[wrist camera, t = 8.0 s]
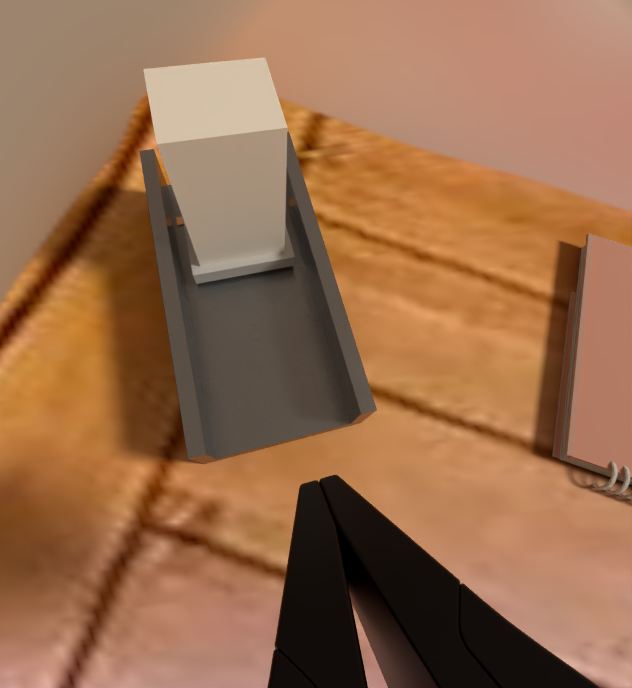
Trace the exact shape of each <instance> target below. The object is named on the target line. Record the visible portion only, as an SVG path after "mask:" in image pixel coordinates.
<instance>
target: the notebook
mask: <svg viewBox="0 0 632 688" xmlns="http://www.w3.org/2000/svg"><path fill="white" fill-rule="evenodd" d="M552 456H553V457H555V458H558V459H560V460H563V461H566V462H569V463H571V464H574V465H577V466H580V467H583V468H586V469H589V470H591V471H594V472H597V473H600V474H603V475H606V476H609V477H611V479H610V481H609V482H608V484H606V485H604V486H602V487H598V486H597V485H596V484H592V486H593V487H594V488H596V489H601V490H605V491H606V492H607V493H611V494H617V495H618V496H620V497H621V498H626V499H630V500H631V501H632V494H631V495H626V496H623V495H622V494H621V493H622V492H624V491H625V490H626V489H627V487H628V485H629V484H631V485H632V248H631V247H628V246H625V245H622V244H619V243H616V242H613V241H610V240H607V239H604V238H601V237H598V236H595V235H592V234H587V236H586V246H584V247H583V248H581V257H580V267H579V276H578V286H577V293H576V292H573V291H571V293H570V302H569V311H568V320H567V328H566V337H565V346H564V355H563V364H562V373H561V382H560V391H559V400H558V409H557V418H556V427H555V436H554V445H553V454H552ZM616 479H617V480H620V481H623V482H624V483H623V485H622V487H621V488H620V489H618V490H616V491H610V490H608V489H609V488H611V487H612V485H613V484H614V483H615V481H616Z"/></svg>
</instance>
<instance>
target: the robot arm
mask: <svg viewBox="0 0 632 688" xmlns="http://www.w3.org/2000/svg"><path fill="white" fill-rule="evenodd" d="M351 600H352V603H353V605H354V607H355V610H356V612H357V614H358V617H359V619H360V622H361V624H362V626H363V629H364V631H365V634H366V636H367V638H368V641H369V643H370V645H371V648H372V650H373V653H374V655H375V657H376V660H377V662H378V664H379V667H380V669H381V672H382V674H383V676H384V679H385V681H386V684H387V686H388V688H600V687H599V686H597V685H596V684H595V683H593V682H592V681H590V680H589V679H588V678H586V677H585V676H583V675H582V674H581V673H579V672H578V671H576V670H575V669H574V668H572V667H571V666H569V665H568V664H566V663H565V662H564V661H562V660H561V659H559V658H558V657H557V656H555V655H554V654H552V653H551V652H550V651H548V650H547V649H545V648H544V647H543V646H541V645H540V644H538V643H537V642H536V641H534V640H533V639H532V638H530V637H529V636H528V635H526V634H525V633H524V632H522V631H521V630H520V629H518V628H517V627H516V626H514V625H513V624H511V623H510V622H509V621H508V620H506V619H505V618H504V617H503V616H501V615H500V614H499V613H498V612H497V611H495V610H494V609H493V608H492V607H490V606H489V605H488V604H487V603H486V602H484V601H483V600H482V599H481V598H480V597H478V596H477V595H476V594H475V593H474V592H473V591H471V590H470V589H469V588H468V587H467V586H466V585H465V584H461V585H460V581H459V579H457V578H456V577H455V576H454V575H453V574H452V573H450V572H449V571H448V570H447V569H446V568H445V567H443V566H442V565H441V564H440V563H439V562H438V561H436V560H435V559H434V558H433V557H432V556H431V555H430V554H428V553H427V552H426V551H425V550H424V549H423V548H421V547H420V546H419V545H418V544H417V543H416V542H414V541H413V540H412V539H411V538H410V537H409V536H407V535H406V534H405V533H404V532H403V531H402V530H401V529H399V528H398V527H397V526H396V525H395V524H394V523H392V522H391V521H390V520H389V519H388V518H387V517H385V516H384V515H383V514H382V513H381V512H380V511H378V510H377V509H376V508H375V507H374V506H373V505H372V504H370V503H369V502H368V501H367V500H366V499H365V498H363V497H362V496H361V495H360V494H359V493H358V492H356V491H355V490H354V489H353V488H352V487H351V486H349V485H348V484H347V483H346V482H345V481H344V480H343V479H341V478H340V477H339V476H337V475H333V476H329V477H325V478H322V479H320V481H319V482H318V481H316V480H315V481H311V482H308V483H304V484H302V485H301V486H300V488H299V494H298V500H297V507H296V513H295V520H294V526H293V532H292V539H291V545H290V551H289V558H288V564H287V571H286V577H285V583H284V590H283V596H282V602H281V609H280V615H279V622H278V628H277V634H276V641H275V650H274V652H273V658H272V665H271V671H270V677H269V682H268V688H368V686H367V681H366V675H365V670H364V665H363V660H362V655H361V650H360V645H359V639H358V634H357V629H356V624H355V619H354V614H353V609H352V603H351Z"/></svg>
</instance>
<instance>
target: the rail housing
mask: <svg viewBox="0 0 632 688" xmlns="http://www.w3.org/2000/svg"><path fill="white" fill-rule="evenodd" d="M140 157H141V163H142V169H143V176H144V182H145V188H146V195H147V201H148V207H149V214H150V220H151V227H152V233H153V239H154V246H155V252H156V258H157V265H158V271H159V277H160V284H161V290H162V297H163V303H164V309H165V316H166V322H167V328H168V335H169V341H170V347H171V354H172V360H173V366H174V373H175V379H176V386H177V392H178V398H179V405H180V411H181V417H182V424H183V430H184V436H185V443H186V449H187V456H188V459H189V460H193V461H196V462H199V463H202V464H207V463H210V462H214V461H218V460H222V459H226V458H229V457H233V456H237V455H241V454H245V453H248V452H252V451H256V450H260V449H264V448H267V447H271V446H275V445H279V444H283V443H286V442H290V441H294V440H298V439H302V438H305V437H309V436H313V435H317V434H321V433H324V432H328V431H332V430H336V429H340V428H343V427H347V426H351V425H355V424H359V423H361V422H363V421H364V420H365V419H366V418H368V417H369V416H370V415H371V414H373V413H374V412H375V411H376V410H377V409H376V406H375V403H374V400H373V396H372V393H371V390H370V387H369V384H368V381H367V377H366V374H365V371H364V368H363V365H362V362H361V358H360V355H359V352H358V349H357V346H356V343H355V339H354V336H353V333H352V330H351V327H350V324H349V321H348V317H347V314H346V311H345V308H344V305H343V302H342V298H341V295H340V292H339V289H338V286H337V283H336V279H335V276H334V273H333V270H332V267H331V264H330V260H329V257H328V254H327V251H326V248H325V245H324V241H323V238H322V235H321V232H320V229H319V226H318V222H317V219H316V216H315V213H314V210H313V207H312V203H311V200H310V197H309V194H308V191H307V188H306V184H305V181H304V178H303V175H302V172H301V169H300V165H299V162H298V159H297V156H296V153H295V150H294V146H293V143H292V140H291V137H290V134H289V132H287V166H286V213H285V224H286V228H287V231H288V235H289V238H290V242H291V245H292V249H293V252H294V256H295V261H294V266H290V267H285V268H279V269H274V270H269V271H263V272H258V273H253V274H247V275H242V276H237V277H231V278H226V279H220V280H215V281H210V282H204V283H199V284H196V282H195V279H194V277H193V273H192V267H191V262H190V257H189V252H188V246H187V241H186V236H185V230H184V225H183V220H182V214H181V211H180V208H179V205H178V202H177V200H176V197H175V194H174V191H173V188H172V186H171V185H167V184H166V181H165V178H164V176H163V173H162V170H161V168H160V165H159V162H158V159H157V157H156V154H155V151H154V149H151V150H143V151H140Z"/></svg>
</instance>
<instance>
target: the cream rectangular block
mask: <svg viewBox="0 0 632 688" xmlns="http://www.w3.org/2000/svg"><path fill="white" fill-rule="evenodd" d="M144 75H145V80H146V86H147V92H148V98H149V103H150V109H151V115H152V120H153V126H154V132H155V137H156V143H157V146H158V149H159V152H160V155H161V158H162V160H163V163H164V166H165V169H166V172H167V174H168V177H169V180H170V183H171V186H172V188H173V191H174V194H175V197H176V200H177V202H178V205H179V208H180V211H181V214H182V220H183V225H184V230H185V236H186V241H187V246H188V252H189V257H190V262H191V267H192V273H193V277H194V279H195V282H196V284H199V283H204V282H210V281H215V280H220V279H226V278H231V277H237V276H242V275H247V274H253V273H258V272H263V271H269V270H274V269H279V268H285V267H290V266H294V261H295V256H294V252H293V249H292V245H291V242H290V238H289V235H288V231H287V228H286V224H285V213H286V166H287V125H286V122H285V119H284V115H283V112H282V109H281V106H280V103H279V100H278V97H277V93H276V90H275V87H274V84H273V81H272V78H271V75H270V71H269V68H268V65H267V62H266V59H265V58H254V59H244V60H234V61H223V62H213V63H203V64H192V65H182V66H171V67H161V68H150V69H144Z"/></svg>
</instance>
